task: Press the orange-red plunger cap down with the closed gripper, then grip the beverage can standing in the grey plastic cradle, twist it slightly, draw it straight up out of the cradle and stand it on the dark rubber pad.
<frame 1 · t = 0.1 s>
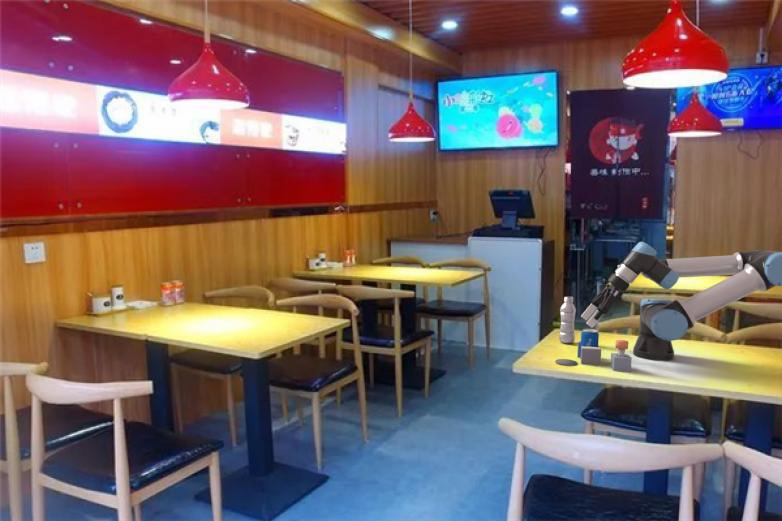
hand: (586, 322, 235), 15 cm above the table, tool tilted 35°, fingers open, 13 cm apart
plunger: (621, 351, 226), point 7 cm above the table, slide at 0.0 cm
plastic bottle: (566, 343, 264), on the table
beverage can: (588, 361, 237), on the table
cradle: (588, 360, 237), on the table
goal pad: (566, 362, 233), on the table
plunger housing: (620, 368, 226), on the table
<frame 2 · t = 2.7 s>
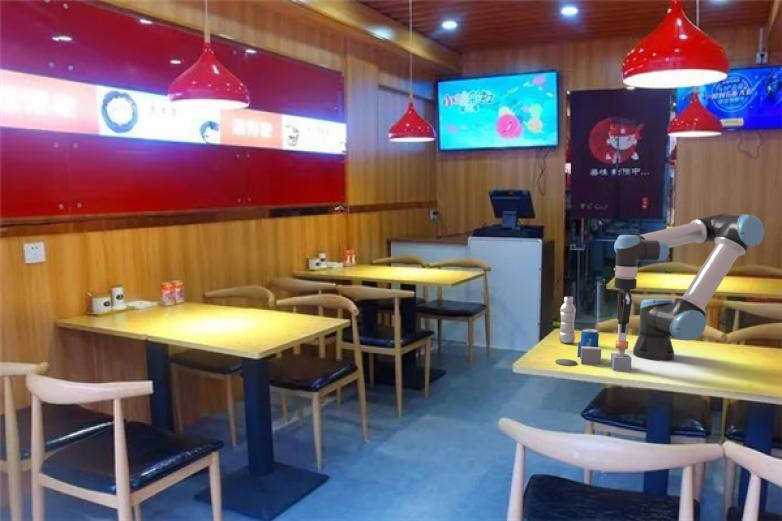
hand: (621, 340, 225), 11 cm above the table, tool pointing down, fingers closed
plunger: (621, 351, 226), point 7 cm above the table, slide at 0.0 cm, touching gripper
everything else where it was.
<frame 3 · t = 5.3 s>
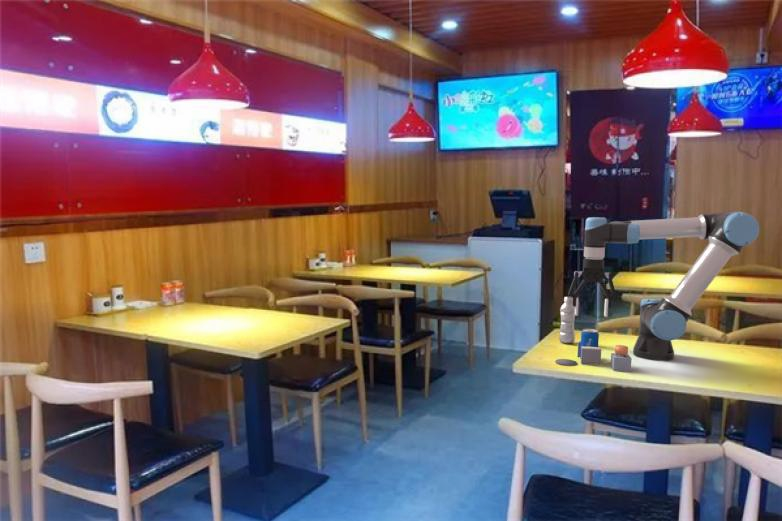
hand: (590, 315, 235), 18 cm above the table, tool pointing down, fingers open, 10 cm apart
plunger: (621, 356, 226), point 5 cm above the table, slide at 2.0 cm
everything else where it was.
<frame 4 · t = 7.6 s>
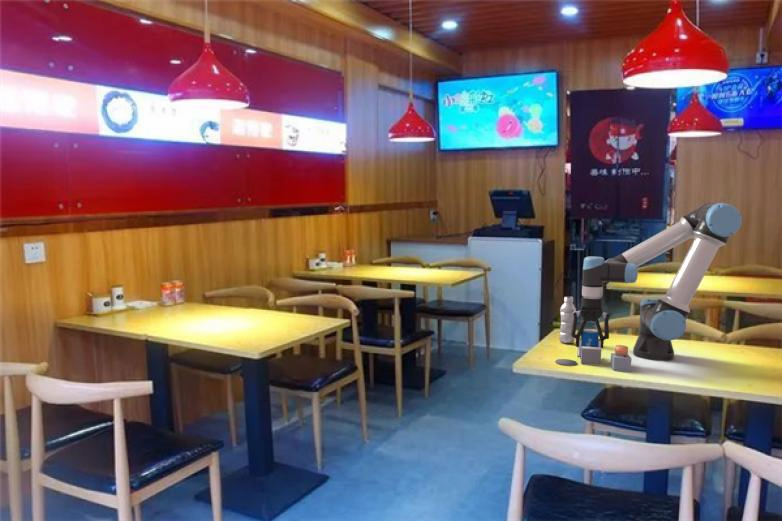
hand: (588, 355, 237), 2 cm above the table, tool pointing down, fingers closed on beverage can, 6 cm apart
beverage can: (588, 361, 237), on the table, touching gripper
everything else where it was.
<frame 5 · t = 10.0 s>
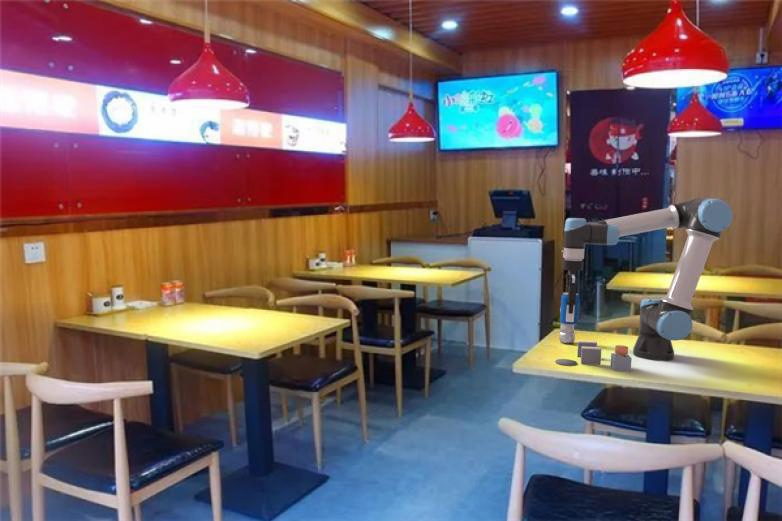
hand: (568, 319, 232), 17 cm above the table, tool pointing down, fingers closed on beverage can, 6 cm apart
beverage can: (568, 325, 232), point 15 cm above the table, touching gripper
everything else where it was.
when the fingers open (4 cm above the table, at t = 12.7 s): beverage can drops 2 cm, resting on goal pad.
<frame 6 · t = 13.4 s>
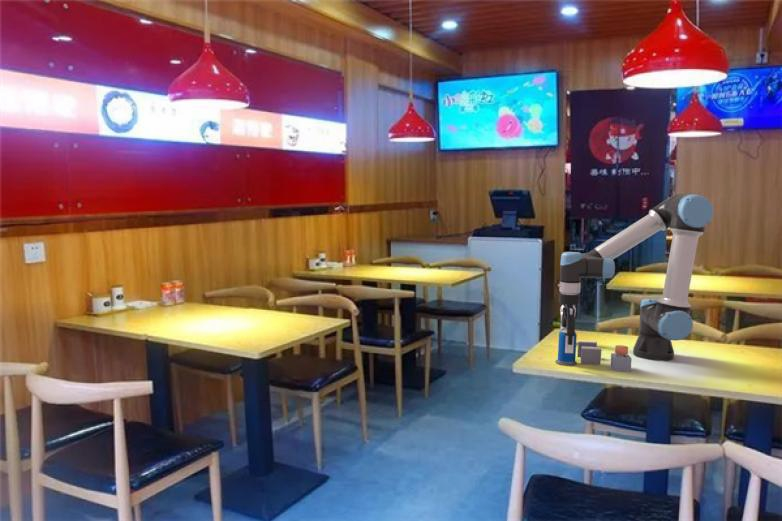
hand: (566, 348, 233), 6 cm above the table, tool pointing down, fingers open, 13 cm apart
beverage can: (566, 362, 233), resting on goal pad
everything else where it was.
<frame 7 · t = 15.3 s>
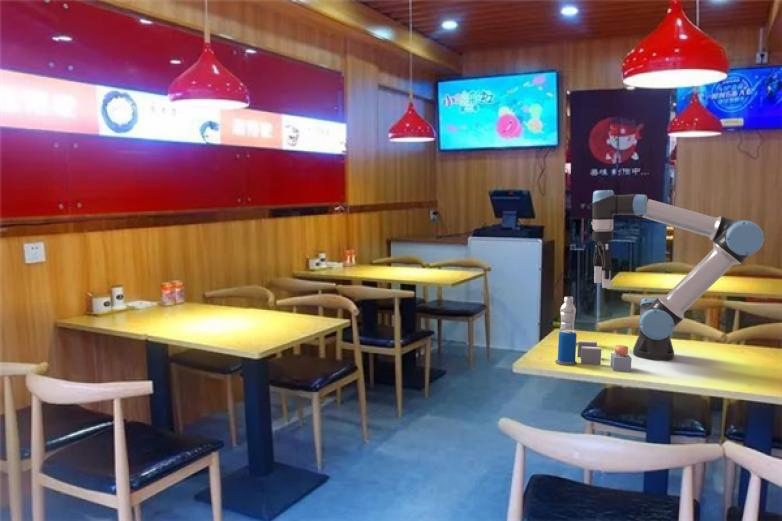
hand: (601, 285, 237), 29 cm above the table, tool pointing down, fingers open, 13 cm apart
nothing on the table moved.
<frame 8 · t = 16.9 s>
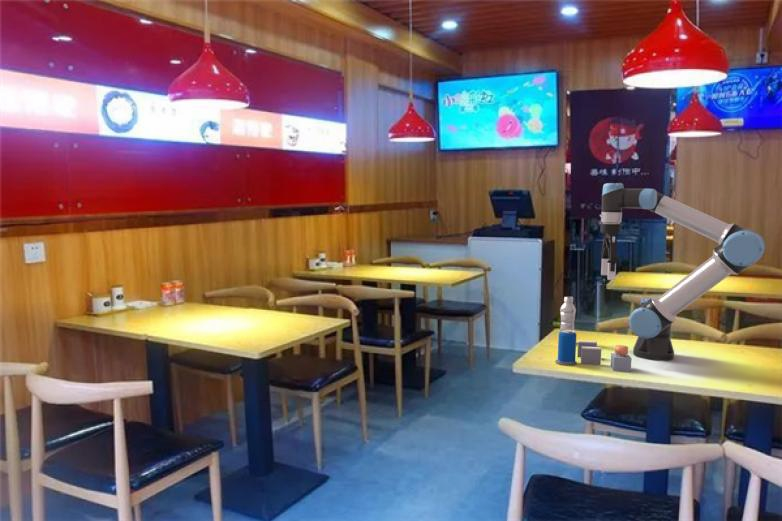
hand: (607, 277, 240), 32 cm above the table, tool pointing down, fingers open, 13 cm apart
nothing on the table moved.
at the end: beverage can 0.1 cm from the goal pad (horizontally); beverage can tilted 1°; plunger slide at 2.0 cm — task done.
